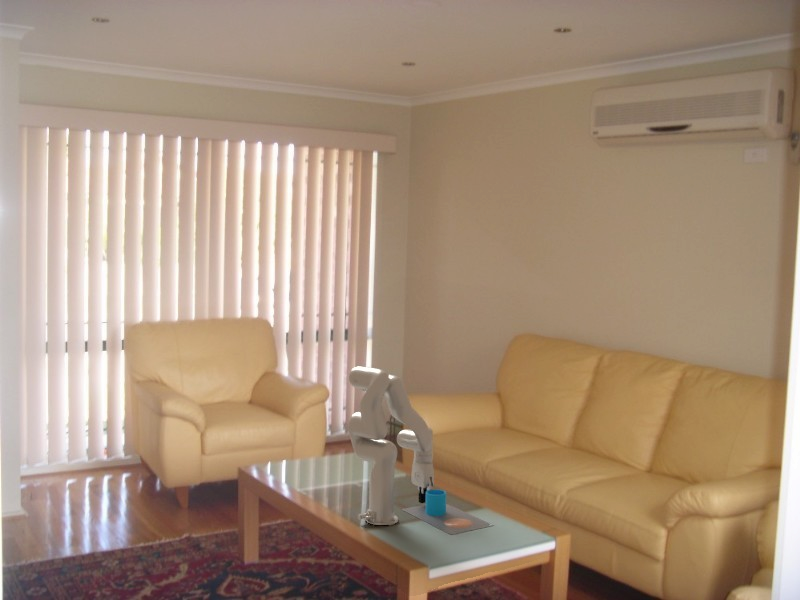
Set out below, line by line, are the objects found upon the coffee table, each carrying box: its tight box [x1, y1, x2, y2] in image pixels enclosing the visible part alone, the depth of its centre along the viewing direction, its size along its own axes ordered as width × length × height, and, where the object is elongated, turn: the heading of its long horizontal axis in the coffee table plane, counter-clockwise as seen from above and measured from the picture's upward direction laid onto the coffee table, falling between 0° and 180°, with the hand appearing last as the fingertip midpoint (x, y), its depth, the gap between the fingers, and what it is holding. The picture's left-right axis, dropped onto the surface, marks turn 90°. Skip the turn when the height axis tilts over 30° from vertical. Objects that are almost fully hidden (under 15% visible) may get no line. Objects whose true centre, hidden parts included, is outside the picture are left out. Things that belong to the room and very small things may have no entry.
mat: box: [400, 503, 491, 536], centre depth 334 cm, size 20×34×1 cm, turn 33°
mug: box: [425, 488, 447, 516], centre depth 340 cm, size 12×8×8 cm
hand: (422, 502), depth 348 cm, fingers closed
